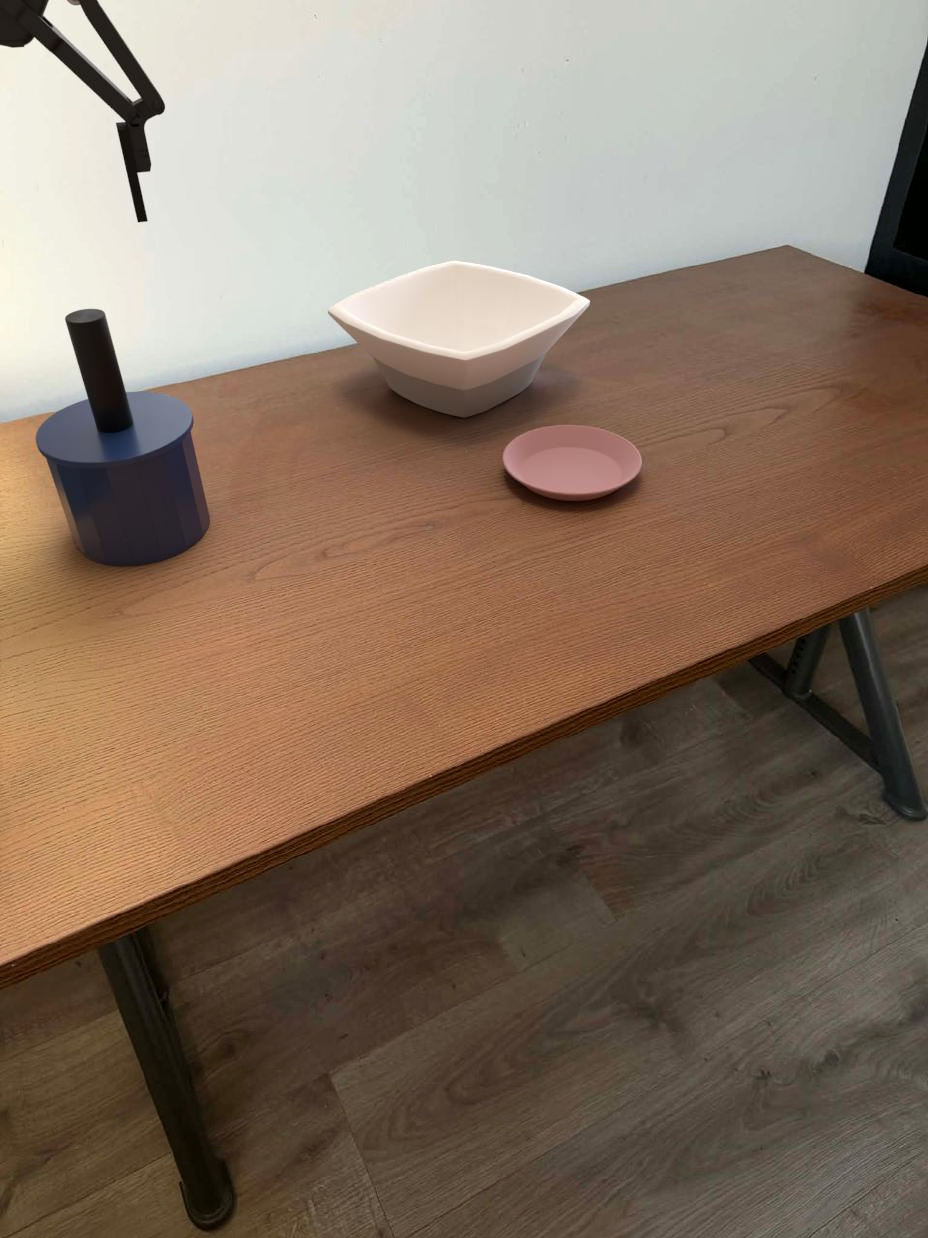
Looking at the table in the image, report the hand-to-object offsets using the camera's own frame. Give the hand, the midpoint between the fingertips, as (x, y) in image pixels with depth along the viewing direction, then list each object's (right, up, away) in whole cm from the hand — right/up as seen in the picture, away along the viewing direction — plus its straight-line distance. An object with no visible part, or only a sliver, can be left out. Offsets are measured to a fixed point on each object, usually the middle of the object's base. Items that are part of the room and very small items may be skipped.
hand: (51, 227), depth 72 cm
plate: (+43, -15, +26) cm, 52 cm away
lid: (+1, -13, +12) cm, 18 cm away
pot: (+1, -21, +19) cm, 29 cm away
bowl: (+31, -2, +42) cm, 53 cm away
